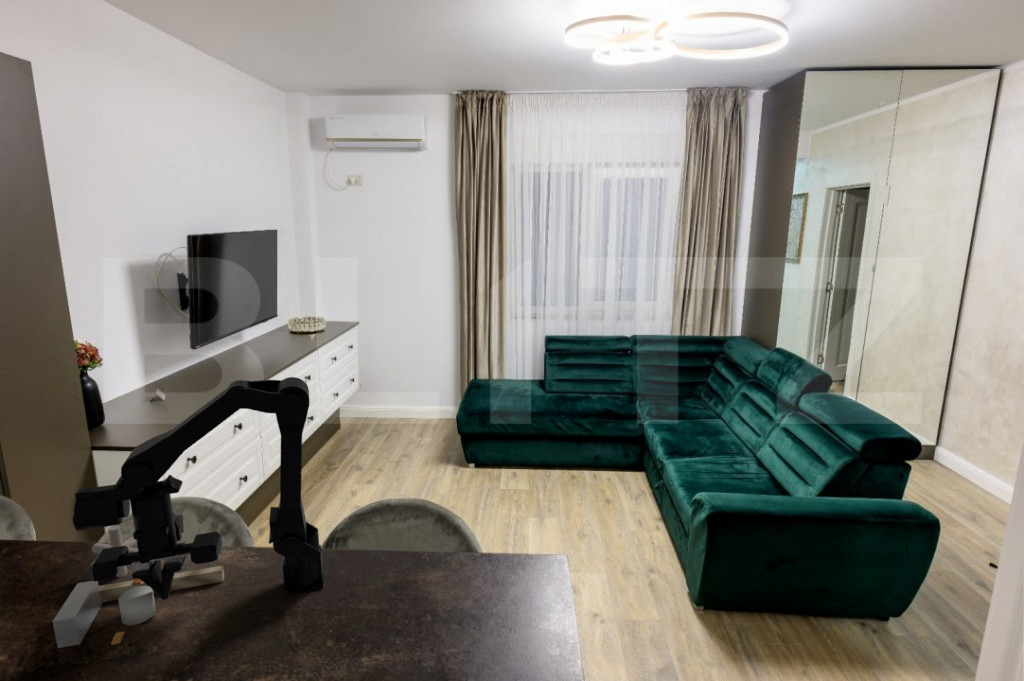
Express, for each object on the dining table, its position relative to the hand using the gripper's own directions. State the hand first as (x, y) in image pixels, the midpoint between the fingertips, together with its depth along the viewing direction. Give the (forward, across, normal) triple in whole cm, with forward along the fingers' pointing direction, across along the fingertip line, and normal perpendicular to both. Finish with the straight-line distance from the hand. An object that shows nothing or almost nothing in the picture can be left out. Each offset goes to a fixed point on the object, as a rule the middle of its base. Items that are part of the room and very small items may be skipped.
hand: (166, 598), depth 100 cm
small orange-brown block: (+2, +6, +6) cm, 8 cm away
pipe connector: (+2, +11, -14) cm, 18 cm away
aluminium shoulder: (+2, +13, 0) cm, 13 cm away
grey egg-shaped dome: (+2, +4, 0) cm, 5 cm away
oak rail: (+2, +3, -6) cm, 8 cm away
